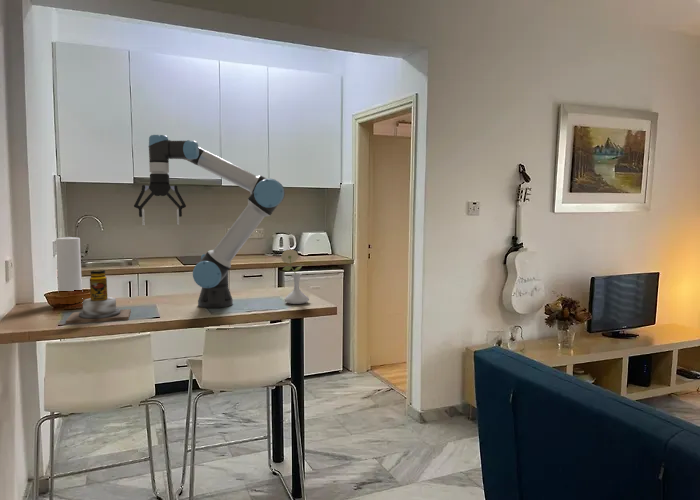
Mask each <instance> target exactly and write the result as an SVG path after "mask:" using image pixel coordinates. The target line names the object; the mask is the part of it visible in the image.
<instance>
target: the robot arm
mask: <svg viewBox="0 0 700 500" xmlns="http://www.w3.org/2000/svg"><path fill="white" fill-rule="evenodd" d="M148 157H149V158H148V159H149V160H148V161H149V162H148V163H149V173H150V174H149V185H145V184H142V186H141V190H140V193H139V195H138V197H137V199H136V200H135V203H134V205H133V207H134V209H135V208H136V209H138V216H139V218H141V220H142V223H141V224H142V226H146V224H145V209H144V207H145V206H146V204H147V203H148V202H149V201H150V200H151V199H152V197H153V196H154V197H155V196H156V197H160V196H161V197H165V196H167V197H168V198H169V200H171V202H172V203H173V204H174V205H175V206H176V207H177V209H176V224H177V226H180V217H183V213H182V212H183V209H185V208H186V207H187V205H186V203H185V201H184V199H183V198H182V196H181V194H180V192H179V190H178V189H179V188H178V185H177V184H176V185H170V175H169V172H170V163H169V162H170V160H183V161H188V162H190V163H191V164H193V165H196V166H197V167H200V168H202V169H204V170H206V171H207V172H210V173H212V174H213V175H215V176H218V177H220V178H221V179H223V180H226V181H228V182H229V183H232V184H234V185H236V186H237V187H240V188H242V189H244V190H246V191H248V192H249V194H250V195H249V196H248V198H247V205H246V207H245V208H244V210H242V212H241V213H240V214H239V216H238V217H237V219H236V220H235V221H234V222H233V224H232V225H231V226H230V228H229V229H228V230H227V232H226V233H225V234H224V236H223V237H222V238H221V239H220V241H219V242H218V244H217V245H216V246H215V247H214V249H210V250H208V251H206V253H203V254H201V256H200V260H199V262H198V263H196V264H195V266H194V268H193V269H192V278H193V281H194V283H195V284H196V285H197V286H199V287H201V290H200V293H199V297H198V299H197V306H198V307H200V308H205V309H207V308H208V309H217V308H219V309H220V308H225V307H230V306H232V305H233V301H234V300H233V297H232V294H231V291H230V288H229V270H230V269H231V267H232V260H233V259H234V258H235V256H236V255H237V254H238V253H239V251H240V250H241V249H242V247H243V246H244V244H245V243H247V241H248V240H249V238H250V237H251V236H252V234H253V233H254V231H255V230H256V228H258V227H259V225H260V224H261V223H262V221H263V220H264V218H265V217H271V215H272V214H273V212H275V210H276V209H277V207H278V206H279V205H280V204H282V202H283V201H284V199H285V194H286V193H285V192H286V191H285V188H284V186H283V185H282V184H281V182H279V181H278V180H276V179H275V178H269V177H268V178H267V177H265V176H263V175H256V174H254V173H252V172H250V171H248V170H246V169H244V168H242V167H240V166H237V165H235V164H233V163H231V161H227V160H225V159H224V158H221V157H220V156H218V155H216V154H213V153H212V152H210V151H207V150H205V149H203V148H202V147H200V146H199V144H198V141H196V140H189V139H188V140H171V139H169V136H168V135H164V134H151V135H149V137H148ZM171 189H172V191H173V192H174V193H175V194H176V196H177V198H178V200H179V202H180V203H178V202H177V200H176V199H175V198H174V197H173V196H172V195H171V193H169V192H170V191H171ZM148 190H149V191H150V194H149V195H148V196H147V197H146V198H145V199H144V201H143V202H142V203H141V200H142V198H143V196H144V195H145V191H148ZM139 204H140V205H139ZM180 204H181V205H180Z"/></svg>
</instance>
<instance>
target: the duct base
mask: <svg viewBox="0 0 700 500" xmlns="http://www.w3.org/2000/svg"><path fill="white" fill-rule="evenodd" d="M107 298H110V300H106V301H100V302H91V301H87V300H86V299H87V298H85V299H83V302H82V311H77V312H76V311H75V312H71V314H70V315H69V316H68V317H67V318H66V320H65V324H66V325H67V324H68V325H69V324H83V323H85V324H86V323H98V322H101V323H102V322H115V321H128V320H130V316H131V313H132V309H131V308H129V309H128V308H127V309H125V308H124V309H119V308H117V298H116V297H111V296H107ZM88 299H91V297H89V298H88Z"/></svg>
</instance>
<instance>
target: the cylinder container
mask: <svg viewBox="0 0 700 500" xmlns="http://www.w3.org/2000/svg"><path fill="white" fill-rule="evenodd" d="M55 240H56V241H55V245H56V246H55V247H56V260H57V261H56V263H57V282H58V283H57V284H58V286H57V287H58V292H59V291H74V290H82V291H83V283H82V282H83V281H82V277H83V276H82V261H81V260H82V257H81V256H82V255H81V238H80V237H75V236H73V237H72V236H64V237H57V238H56V239H55Z"/></svg>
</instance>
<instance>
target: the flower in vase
mask: <svg viewBox="0 0 700 500" xmlns="http://www.w3.org/2000/svg"><path fill="white" fill-rule="evenodd" d="M280 258H281V261H282V262H283V263H286V264H290V266H288V265H287V266H284V267H283V268H282V269H281V270H282V271H287V272H288V271H290V270H291V269H292V271H293V272H291V274H290V275H291V276H292V278H293V282H294V283H293V284H294V286H293V290H292V291H291V292H289V293H288V294H287V295H286V296H285V297H284V299H283V301H284V302H285V303H287V304H291V305H301V304H305V303H308V302H309V300H310V298H309V296H308V295H306V294H305V293H304V292H303V291H302V290H301V289H300V280H301V276H302V275H303V273H302V272H296V271H300V270H301V269H302V267H303V265H300V266H297V267H295V269H294V268H293V266H292V264H293V263H295V262H297V260H298V258H299V254H298V252H297V250H294V249H291V248H289V249H286V250H284V251H283V252H282V253H281V255H280Z"/></svg>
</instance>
